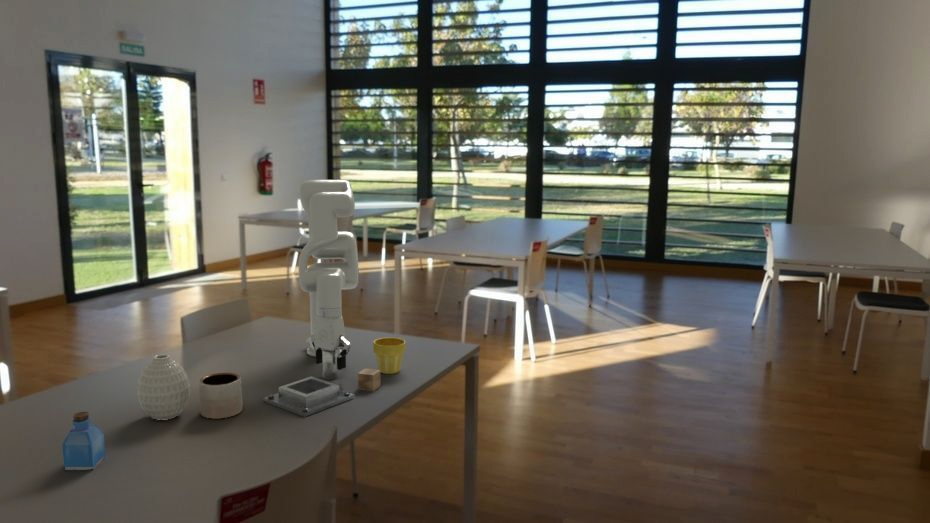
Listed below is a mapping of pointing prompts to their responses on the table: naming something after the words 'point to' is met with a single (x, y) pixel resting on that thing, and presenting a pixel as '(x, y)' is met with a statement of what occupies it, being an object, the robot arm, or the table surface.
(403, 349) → the plant pot
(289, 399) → the square metal socket
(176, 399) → the vase
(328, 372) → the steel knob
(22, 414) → the table surface
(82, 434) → the perfume bottle
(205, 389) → the planter
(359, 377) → the wooden cube
